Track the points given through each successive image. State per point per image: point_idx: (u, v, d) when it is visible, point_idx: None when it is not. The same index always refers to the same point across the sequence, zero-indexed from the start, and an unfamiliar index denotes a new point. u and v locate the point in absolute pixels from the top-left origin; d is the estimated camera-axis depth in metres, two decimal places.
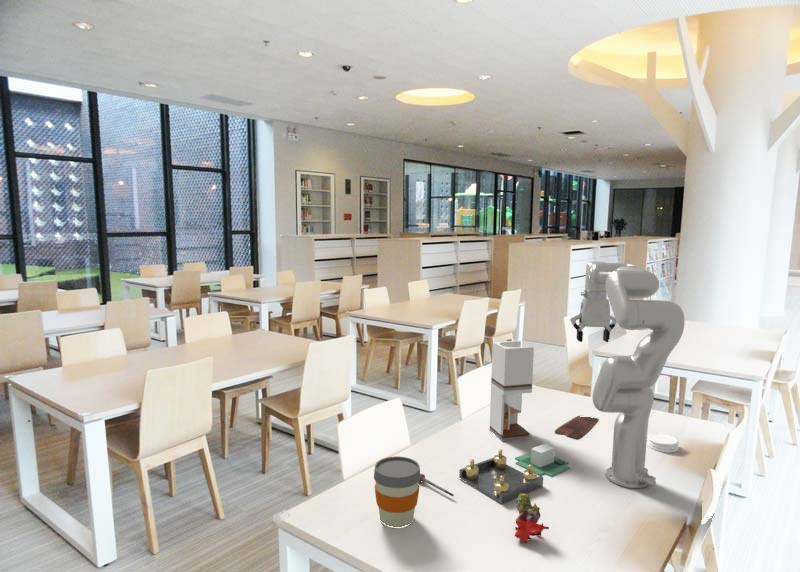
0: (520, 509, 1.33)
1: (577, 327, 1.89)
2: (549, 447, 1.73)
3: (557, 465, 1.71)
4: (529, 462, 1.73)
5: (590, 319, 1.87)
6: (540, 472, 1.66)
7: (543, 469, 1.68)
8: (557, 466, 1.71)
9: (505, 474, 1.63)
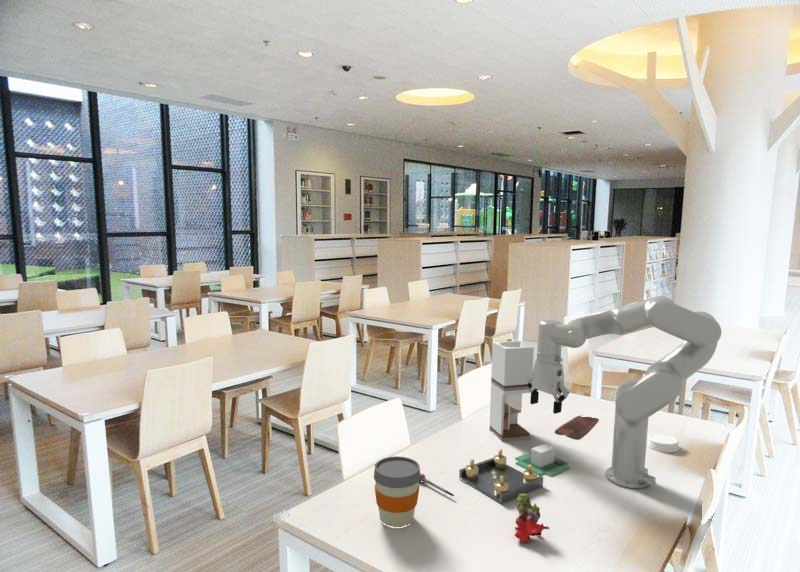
0: (520, 509, 1.33)
1: None
2: (549, 447, 1.73)
3: (557, 465, 1.71)
4: (529, 462, 1.73)
5: None
6: (540, 472, 1.66)
7: (543, 469, 1.68)
8: (557, 466, 1.71)
9: (505, 474, 1.63)
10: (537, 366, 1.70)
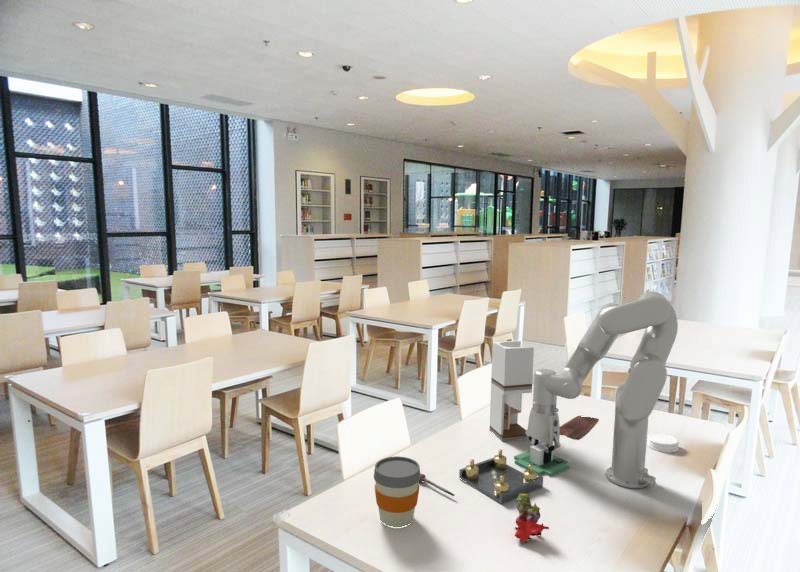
0: (520, 509, 1.33)
1: None
2: None
3: (556, 463, 1.71)
4: (528, 460, 1.73)
5: None
6: (539, 470, 1.66)
7: (542, 467, 1.68)
8: (556, 464, 1.71)
9: (505, 474, 1.63)
10: (533, 415, 1.72)
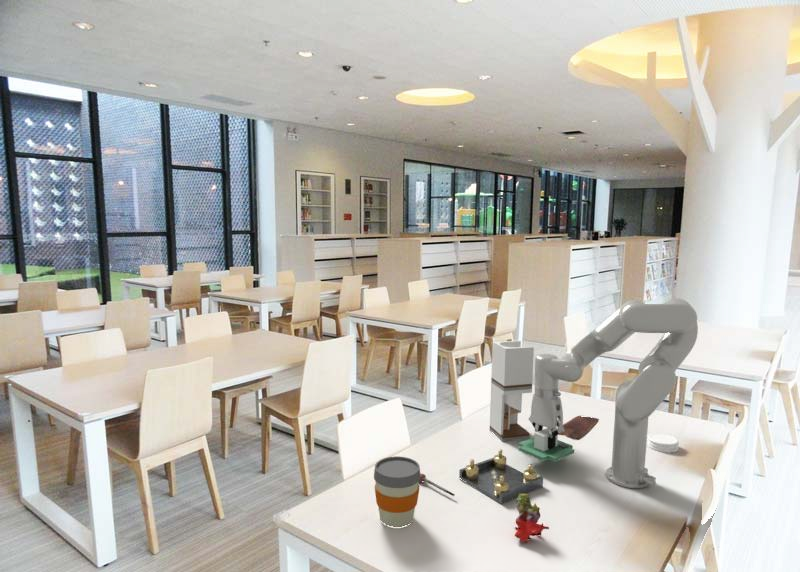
0: (520, 509, 1.33)
1: None
2: None
3: (560, 448, 1.70)
4: (532, 446, 1.72)
5: None
6: (544, 456, 1.65)
7: (547, 452, 1.67)
8: (560, 449, 1.70)
9: (505, 474, 1.63)
10: (535, 401, 1.71)
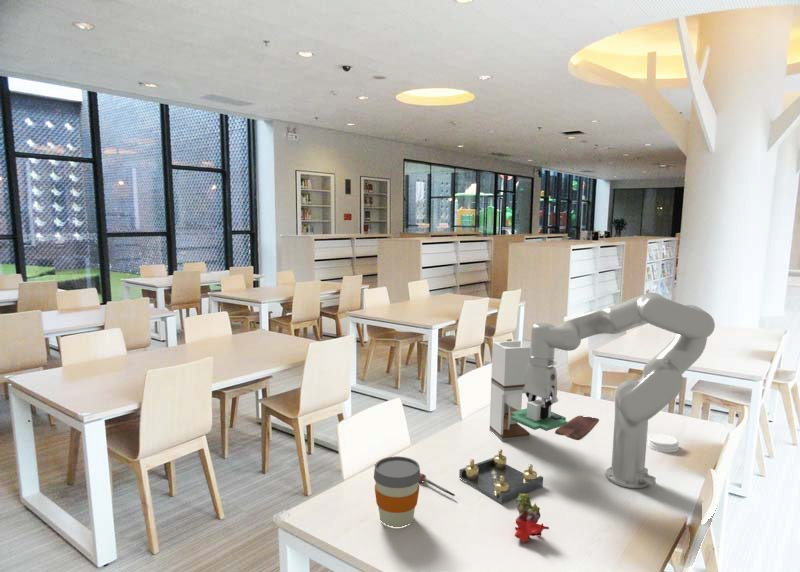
0: (520, 509, 1.33)
1: None
2: (546, 401, 1.69)
3: (553, 419, 1.68)
4: (525, 416, 1.69)
5: None
6: (535, 425, 1.62)
7: (539, 422, 1.65)
8: (553, 420, 1.67)
9: (505, 474, 1.63)
10: (530, 370, 1.68)
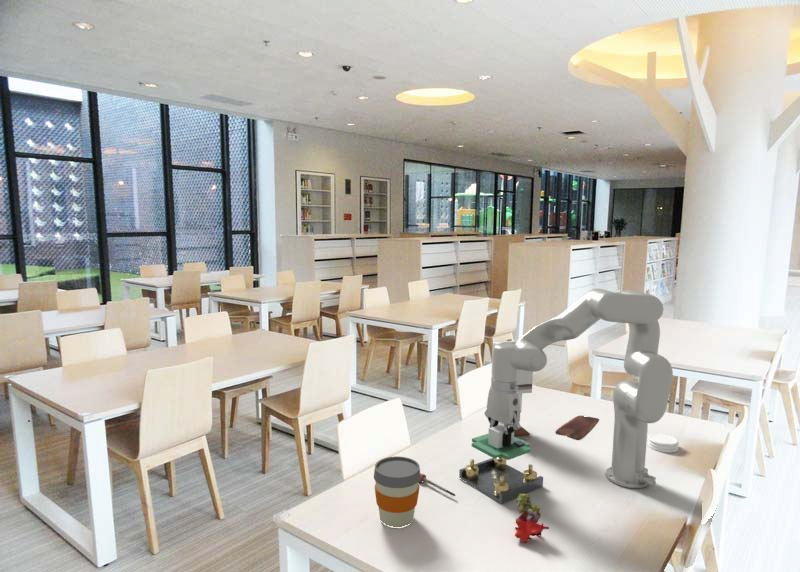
0: (520, 509, 1.33)
1: None
2: (508, 427, 1.59)
3: (516, 446, 1.57)
4: (486, 443, 1.58)
5: None
6: (496, 453, 1.51)
7: (501, 450, 1.54)
8: (516, 447, 1.56)
9: (505, 474, 1.63)
10: (492, 394, 1.57)
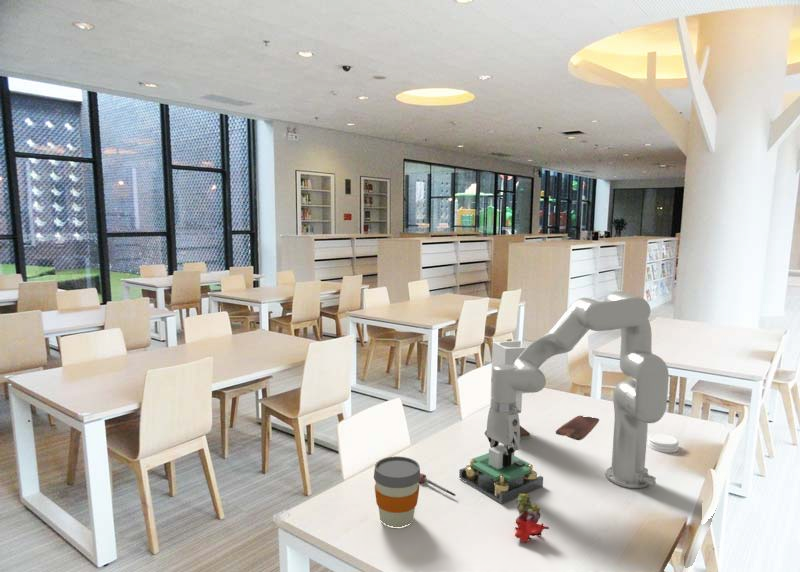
0: (520, 509, 1.33)
1: None
2: None
3: (516, 466, 1.58)
4: (487, 463, 1.59)
5: None
6: (497, 475, 1.52)
7: (501, 471, 1.55)
8: (516, 467, 1.57)
9: None
10: (491, 414, 1.58)
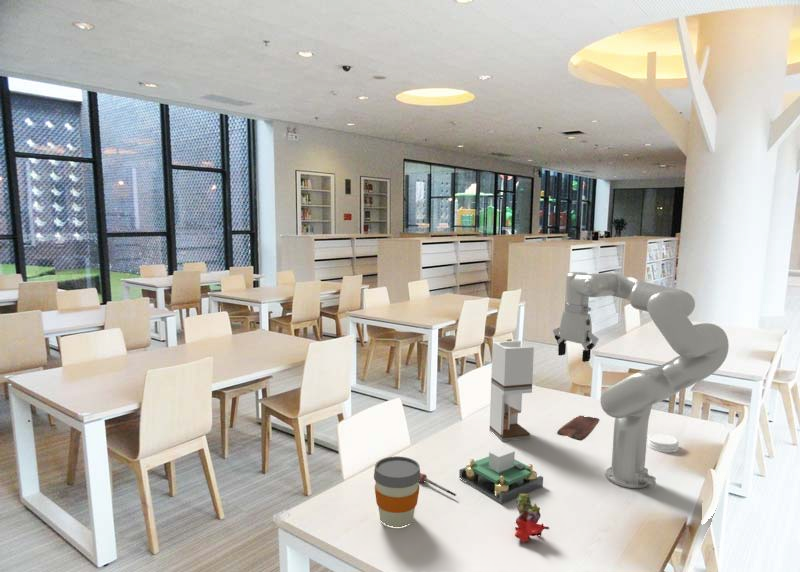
0: (520, 509, 1.33)
1: None
2: (509, 450, 1.60)
3: (517, 470, 1.58)
4: (487, 467, 1.59)
5: None
6: (497, 478, 1.52)
7: (501, 474, 1.55)
8: (516, 471, 1.57)
9: None
10: (565, 317, 1.76)
